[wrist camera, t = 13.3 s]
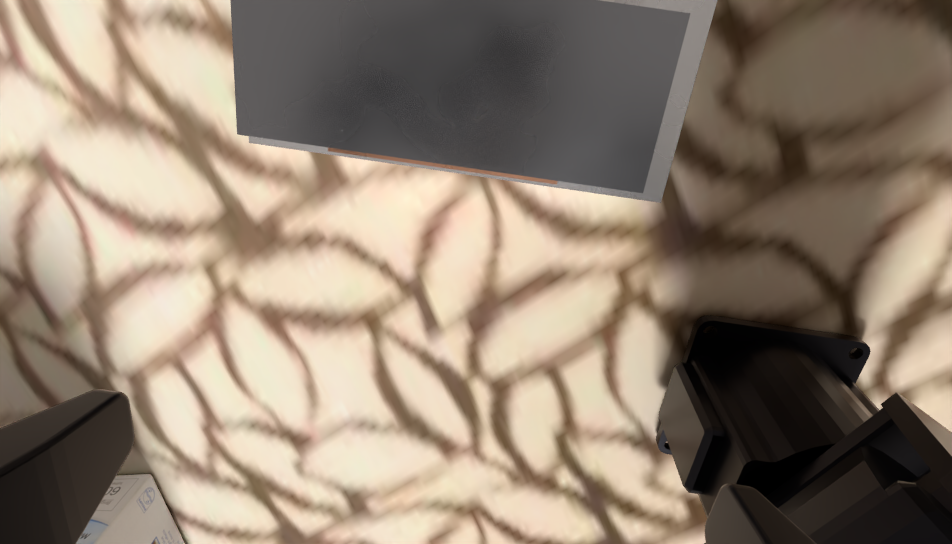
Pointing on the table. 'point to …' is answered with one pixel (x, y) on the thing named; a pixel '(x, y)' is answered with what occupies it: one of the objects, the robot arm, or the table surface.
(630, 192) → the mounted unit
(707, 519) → the robot arm
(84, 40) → the table surface
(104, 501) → the light bulb box
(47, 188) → the table surface
